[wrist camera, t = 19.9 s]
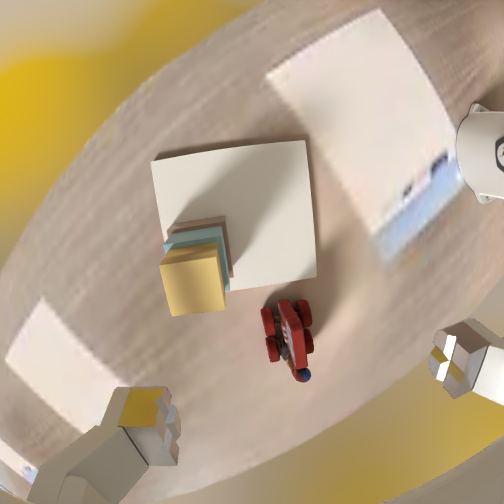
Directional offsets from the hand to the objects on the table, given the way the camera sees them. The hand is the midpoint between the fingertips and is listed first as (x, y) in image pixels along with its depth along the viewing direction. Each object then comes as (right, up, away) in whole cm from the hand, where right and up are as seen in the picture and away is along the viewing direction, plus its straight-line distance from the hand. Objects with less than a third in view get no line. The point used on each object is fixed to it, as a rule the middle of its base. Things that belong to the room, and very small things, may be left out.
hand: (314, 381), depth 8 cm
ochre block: (-7, +2, +23) cm, 24 cm away
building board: (-4, +8, +32) cm, 33 cm away
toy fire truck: (+3, -8, +38) cm, 39 cm away
